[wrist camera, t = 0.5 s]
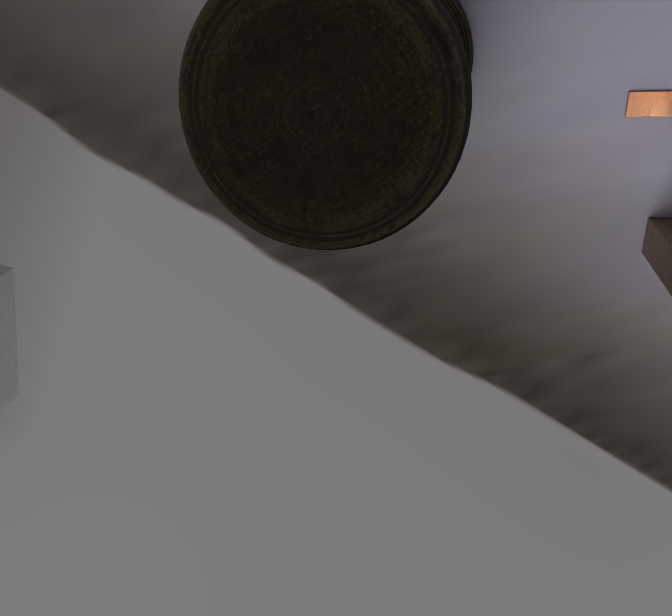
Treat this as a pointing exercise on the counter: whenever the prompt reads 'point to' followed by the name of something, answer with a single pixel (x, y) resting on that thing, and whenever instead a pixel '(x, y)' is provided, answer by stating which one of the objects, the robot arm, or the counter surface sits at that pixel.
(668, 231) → the bar
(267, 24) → the container
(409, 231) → the counter surface
